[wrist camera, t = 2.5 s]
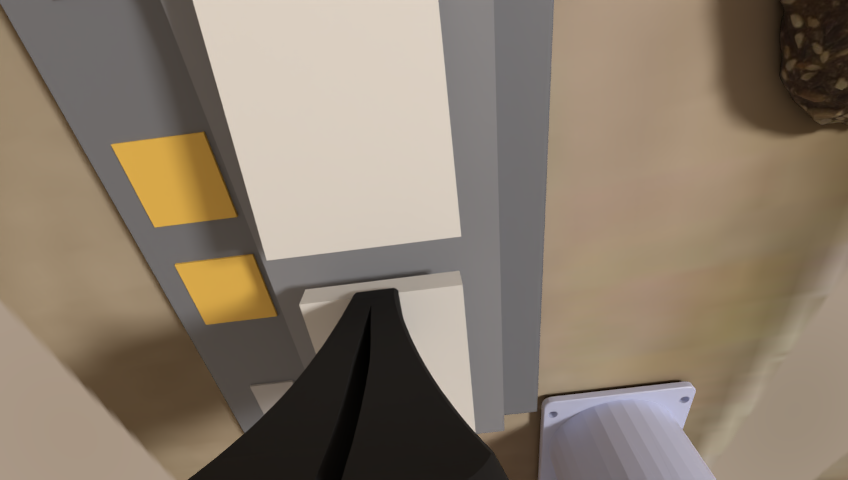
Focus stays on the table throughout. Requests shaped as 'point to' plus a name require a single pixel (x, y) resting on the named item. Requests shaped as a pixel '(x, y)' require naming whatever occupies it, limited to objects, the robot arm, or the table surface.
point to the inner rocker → (411, 326)
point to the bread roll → (816, 57)
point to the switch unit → (232, 213)
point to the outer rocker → (336, 120)
